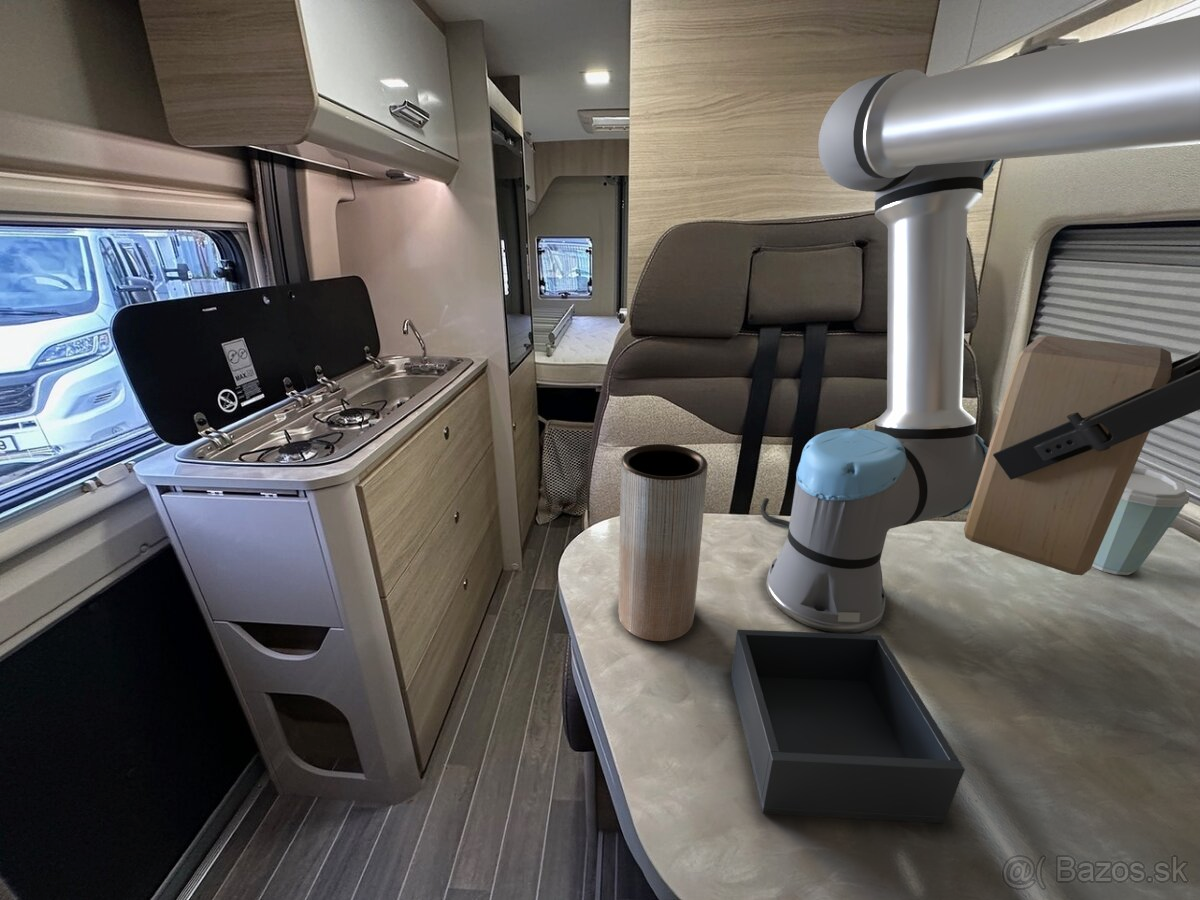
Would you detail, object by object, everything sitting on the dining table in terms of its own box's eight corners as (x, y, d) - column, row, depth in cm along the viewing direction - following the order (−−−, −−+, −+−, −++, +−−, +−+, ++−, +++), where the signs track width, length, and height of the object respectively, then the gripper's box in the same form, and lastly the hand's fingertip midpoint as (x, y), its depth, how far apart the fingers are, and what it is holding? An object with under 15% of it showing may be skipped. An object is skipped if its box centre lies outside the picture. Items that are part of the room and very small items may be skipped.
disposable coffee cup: (1167, 591, 76) (1214, 498, 70) (1074, 574, 79) (1111, 484, 73) (1131, 552, 85) (1170, 467, 79) (1049, 538, 88) (1080, 456, 83)
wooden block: (1094, 540, 55) (1176, 347, 47) (1085, 583, 48) (1178, 366, 40) (980, 507, 61) (1036, 333, 53) (958, 541, 55) (1018, 347, 47)
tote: (730, 675, 61) (737, 629, 58) (869, 681, 60) (881, 634, 58) (762, 813, 47) (772, 760, 44) (944, 823, 46) (965, 769, 43)
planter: (607, 601, 73) (608, 449, 64) (672, 585, 76) (682, 439, 68) (636, 651, 65) (642, 484, 56) (708, 631, 68) (724, 470, 59)
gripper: (1442, 384, 28) (1008, 522, 45) (1388, 334, 42) (1071, 454, 59) (1335, 274, 30) (955, 447, 47) (1317, 260, 44) (1028, 397, 61)
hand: (1020, 451), depth 53 cm, fingers closed on wooden block, 11 cm apart
